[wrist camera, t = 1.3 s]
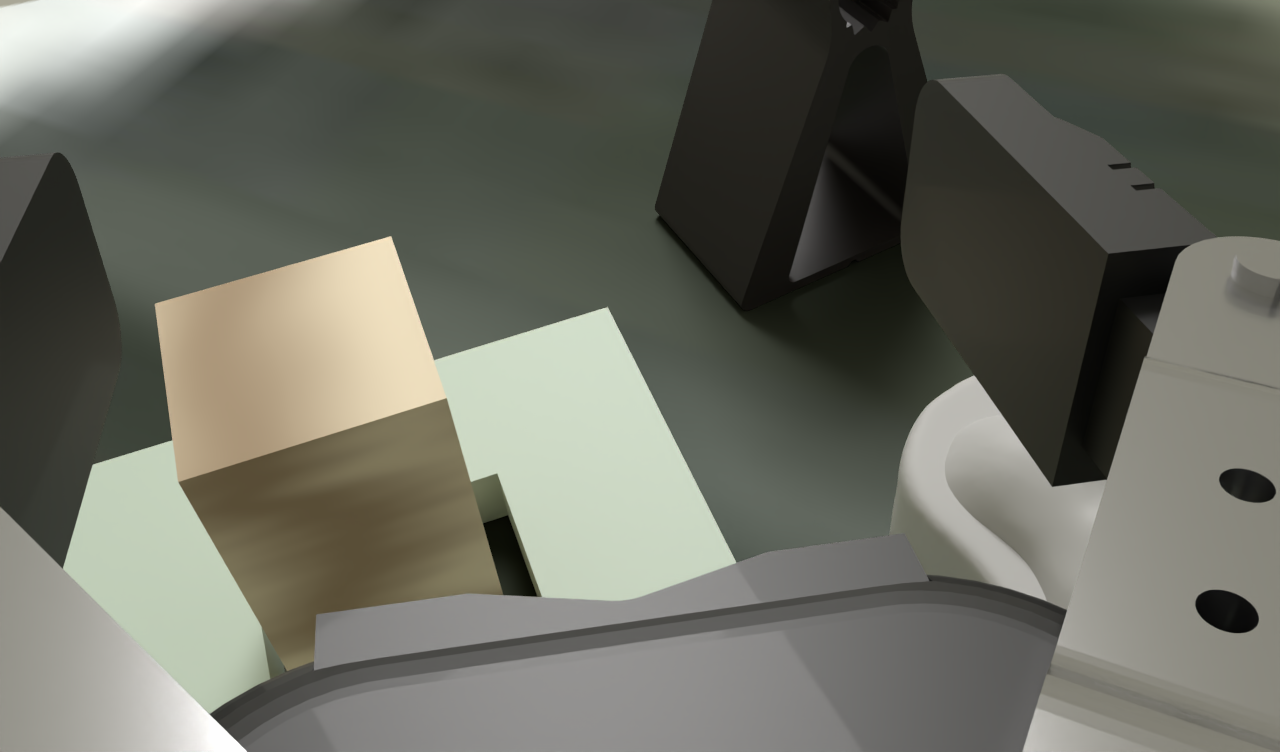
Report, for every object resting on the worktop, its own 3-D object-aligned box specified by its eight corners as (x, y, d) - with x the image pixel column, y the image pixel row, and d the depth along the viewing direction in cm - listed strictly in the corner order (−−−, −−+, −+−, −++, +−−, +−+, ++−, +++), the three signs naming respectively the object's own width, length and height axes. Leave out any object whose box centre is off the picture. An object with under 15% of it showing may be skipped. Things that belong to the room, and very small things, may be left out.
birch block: (484, 552, 35) (390, 236, 26) (533, 702, 32) (446, 398, 23) (311, 611, 34) (155, 303, 25) (345, 771, 31) (178, 481, 22)
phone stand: (861, 131, 47) (884, -185, 38) (959, 218, 43) (1011, -110, 34) (654, 215, 44) (628, -102, 36) (740, 314, 41) (735, -13, 32)
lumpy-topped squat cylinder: (834, 583, 34) (851, 369, 27) (1220, 419, 36) (1318, 191, 30) (1067, 946, 27) (1163, 778, 21) (1518, 713, 30) (1725, 499, 23)
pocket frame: (613, 350, 40) (607, 307, 38) (847, 830, 29) (852, 794, 27) (82, 517, 37) (54, 476, 35) (118, 1123, 26) (79, 1101, 24)
